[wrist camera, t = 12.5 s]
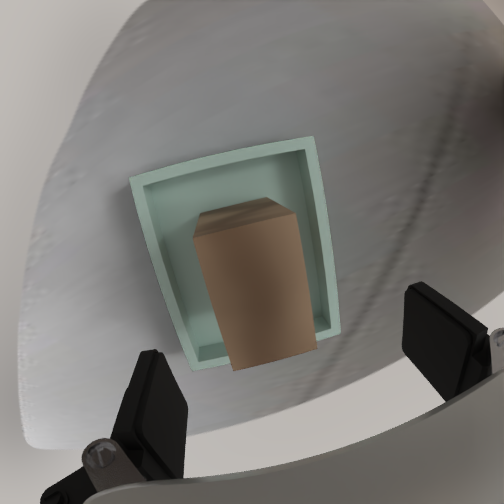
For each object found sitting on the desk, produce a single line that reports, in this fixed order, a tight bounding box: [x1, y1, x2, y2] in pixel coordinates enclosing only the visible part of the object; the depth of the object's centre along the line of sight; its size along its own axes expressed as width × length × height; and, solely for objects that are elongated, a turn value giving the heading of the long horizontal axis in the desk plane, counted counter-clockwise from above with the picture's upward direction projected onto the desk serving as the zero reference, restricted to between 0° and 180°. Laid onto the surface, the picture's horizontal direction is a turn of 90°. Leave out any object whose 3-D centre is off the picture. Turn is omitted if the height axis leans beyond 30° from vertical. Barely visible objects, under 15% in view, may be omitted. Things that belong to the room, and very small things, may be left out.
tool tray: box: [129, 136, 341, 371], centre depth 22 cm, size 13×16×3 cm
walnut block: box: [193, 197, 317, 371], centre depth 19 cm, size 5×8×8 cm, turn 12°
